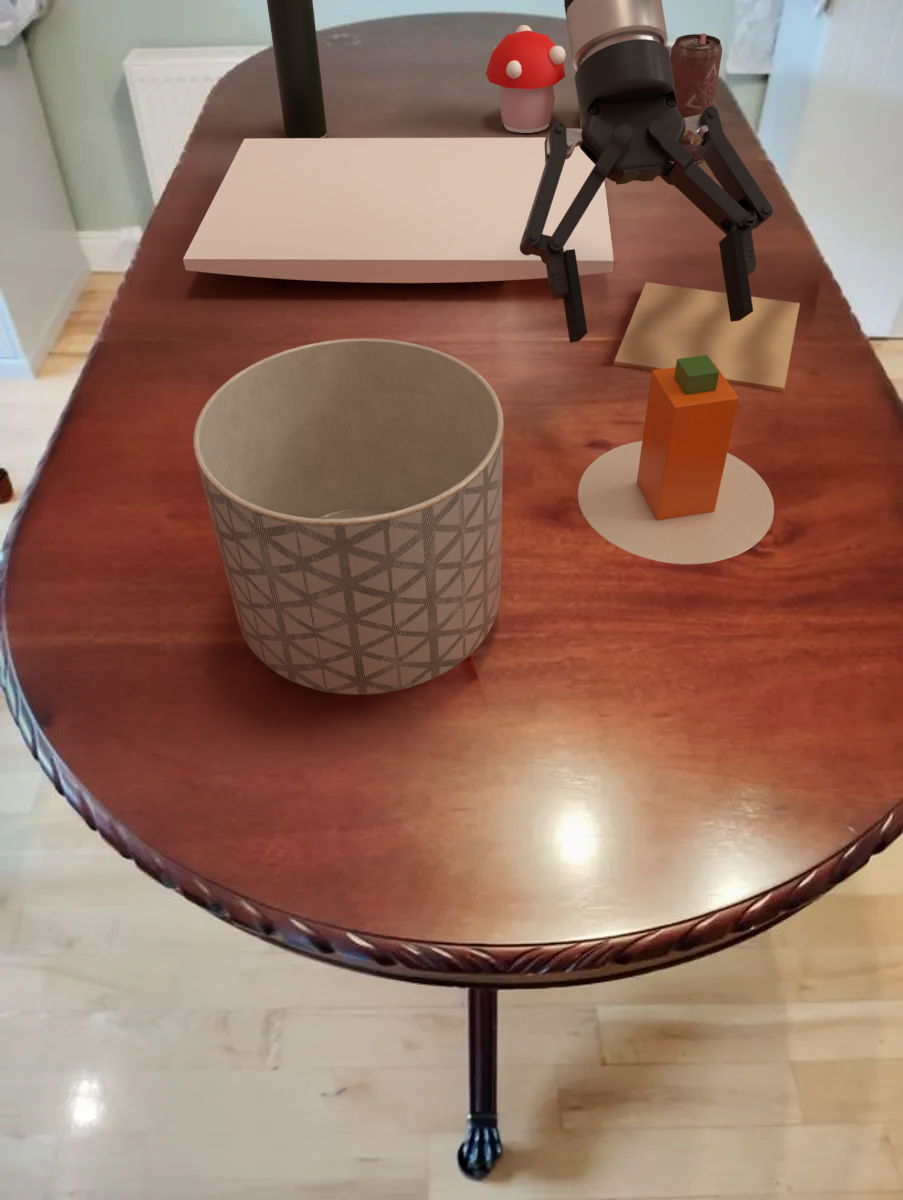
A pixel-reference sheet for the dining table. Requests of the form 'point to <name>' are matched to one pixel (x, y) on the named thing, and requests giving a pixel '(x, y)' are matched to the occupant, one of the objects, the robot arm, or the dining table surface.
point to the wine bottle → (297, 67)
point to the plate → (680, 540)
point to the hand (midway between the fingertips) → (661, 327)
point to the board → (392, 211)
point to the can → (695, 77)
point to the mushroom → (526, 77)
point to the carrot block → (686, 438)
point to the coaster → (710, 335)
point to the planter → (357, 510)
